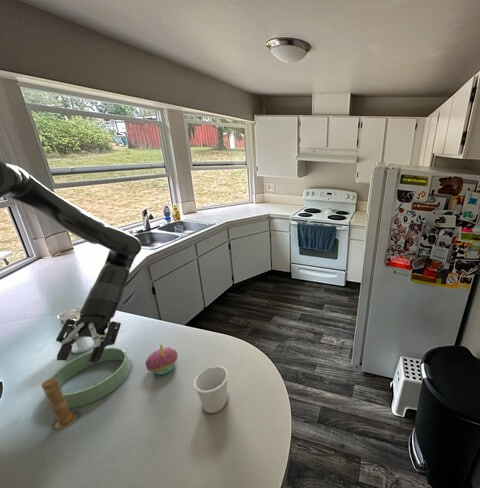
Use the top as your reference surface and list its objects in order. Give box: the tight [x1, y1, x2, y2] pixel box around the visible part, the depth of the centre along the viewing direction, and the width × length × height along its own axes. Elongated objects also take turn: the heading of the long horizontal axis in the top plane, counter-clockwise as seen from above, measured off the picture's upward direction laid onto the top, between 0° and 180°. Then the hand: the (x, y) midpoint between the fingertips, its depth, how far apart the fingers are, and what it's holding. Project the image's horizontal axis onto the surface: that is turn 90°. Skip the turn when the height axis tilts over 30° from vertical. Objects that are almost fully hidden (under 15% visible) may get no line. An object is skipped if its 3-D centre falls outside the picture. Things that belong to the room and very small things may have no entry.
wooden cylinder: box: [41, 377, 78, 430], centre depth 61 cm, size 4×4×14 cm
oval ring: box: [49, 347, 131, 409], centre depth 74 cm, size 17×17×6 cm
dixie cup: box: [193, 365, 229, 414], centre depth 68 cm, size 8×8×10 cm
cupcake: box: [145, 343, 179, 376], centre depth 78 cm, size 9×8×12 cm
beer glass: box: [56, 306, 95, 354], centre depth 85 cm, size 7×7×15 cm
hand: (77, 361), depth 66 cm, fingers open, 8 cm apart
